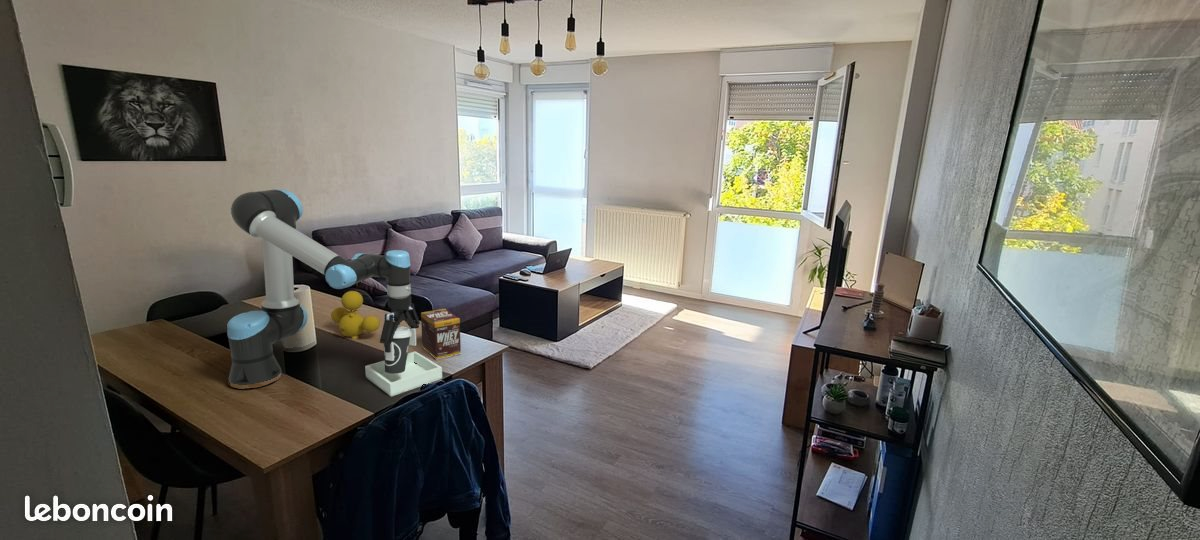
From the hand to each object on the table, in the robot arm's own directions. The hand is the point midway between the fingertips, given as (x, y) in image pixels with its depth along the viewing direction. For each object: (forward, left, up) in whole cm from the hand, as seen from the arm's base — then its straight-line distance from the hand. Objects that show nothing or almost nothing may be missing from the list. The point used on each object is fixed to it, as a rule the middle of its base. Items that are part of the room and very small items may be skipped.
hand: (401, 352), depth 173 cm
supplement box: (+22, +12, -10) cm, 27 cm away
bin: (0, 0, -10) cm, 10 cm away
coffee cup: (-3, -2, -6) cm, 7 cm away
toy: (+3, +51, -10) cm, 52 cm away
